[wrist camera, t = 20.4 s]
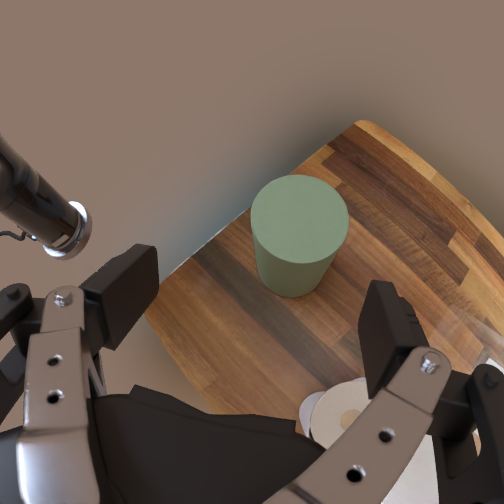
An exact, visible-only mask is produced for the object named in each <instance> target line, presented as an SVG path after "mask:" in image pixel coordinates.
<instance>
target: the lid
mask: <svg viewBox="0 0 504 504" xmlns="http://www.w3.org/2000/svg"><path fill="white" fill-rule="evenodd" d="M371 401H372V400H368V392H367V384H366V383H365V382H361V381H347V382H343V383H340V384H337V385H335V386H333V387H331V388H330V389H328V390H327V391H326V392H325V393H324V394H323V395H322V396H321V397H320V398H319V399H318V401H317V402H316V404H315V405H314V407H313V410H312V413H311V416H310V430H311V434H312V437H313V439H314V441H316V442H317V443H319V444H320V445H322V446H323V447H324V448H326V449H328V448H329V447H330V446H331V445H332V444H333V443H334V442H335V441H336V440H337V439H338V438H339V437H340V436H341V435H342V434H343V433H344V432H345V430H346V429H347V428H348V427H349V426H350V425H351V424H352V423H353V422H354V421H355V419H356V418H357V417H358V416H359V415H360V414H361V413H362V411H363V410H364V409H365V408H366V407H367V405H368V404H369V403H370V402H371Z"/></svg>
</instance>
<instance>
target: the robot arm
mask: <svg viewBox="0 0 504 504" xmlns="http://www.w3.org/2000/svg"><path fill="white" fill-rule="evenodd" d="M0 213H1V214H2V215H4V216H5V217H7V218H8V219H9V220H11V221H12V222H14V223H15V224H16V225H17V227H19V228H20V229H21V230H23V232H22V235H21V236H18V235H16V234H14V233H12V232H10V231H2V232H0V236H2V235H9V236H11V237H13V238H15V239H17V240H19V241H22V240H24V239H25V235H26V236H27V237H29V238H30V239H32V240H34V241H37V240H38V241H40V242H41V243H43V244H44V245H47V246H48V247H50V248H51V249H53V250H57V251H59V250H63V249H65V248H67V247H68V246H70V245H71V244H72V243H73V241H74V240H75V239H76V237H77V235H78V233H79V231H80V228H81V215H80V212H79V211H78V210H77V209H76V208H75V207H74V206H72V205H71V204H70V203H69V202H68V201H67V200H66V199H65V198H64V197H62V196H61V195H60V194H59V193H58V192H57V191H56V190H55V189H54V188H53V187H52V186H51V185H50V184H49V183H48V182H47V181H46V180H45V179H44V178H43V177H42V176H41V175H40V174H39V173H38V172H37V171H35V170H34V169H33V167H32V166H31V165H29V163H28V162H26V160H24V159H23V157H22V156H21V155H20V154H19V153H18V152H17V151H16V150H15V149H14V148H13V147H12V146H11V145H10V144H9V143H8V141H7V140H6V139H5V138H4V137H3V136H2V134H1V133H0ZM157 259H158V258H157V250H156V248H155V247H154V246H149V245H143V244H135V245H134V246H132V247H131V248H130V249H129V250H127V251H126V252H125V253H124V254H121V255H119V256H117V257H114V258H112V259H111V260H110V261H108V262H107V263H106V264H105V265H104V266H102V267H101V268H100V269H99V270H98V272H95V273H94V274H93V275H91V276H90V277H89V278H88V279H87V280H86V281H84V283H82V284H81V285H80V286H79V287H76V286H63V287H59V288H57V289H54V290H53V291H51V292H50V293H49V294H48V295H47V296H46V298H45V299H44V298H32V295H31V292H30V288H29V286H28V285H26V284H22V283H17V284H13V285H10V286H7V287H6V288H4V289H3V290H1V291H0V340H1V339H2V338H3V337H4V336H5V335H6V334H7V333H8V332H9V331H10V333H11V335H12V338H13V340H14V342H15V344H16V345H15V346H14V347H13V348H12V349H11V351H10V352H9V353H8V354H7V355H6V356H5V357H4V359H3V360H2V361H1V362H0V425H1V423H2V422H3V420H4V419H5V417H6V416H7V414H8V413H9V412H10V410H11V409H12V407H13V406H14V404H15V403H16V402H17V400H18V399H19V397H20V396H21V395H22V393H23V392H24V401H23V425H22V426H19V427H16V428H13V429H10V430H7V431H4V432H1V433H0V504H380V503H381V502H382V501H383V499H384V498H385V497H386V495H387V494H388V493H389V491H390V490H391V489H392V487H393V486H394V484H395V483H396V481H397V480H398V478H399V477H400V475H401V474H402V472H403V471H404V469H405V468H406V466H407V465H408V463H409V461H410V460H411V458H412V457H413V455H414V453H415V452H416V450H417V448H418V446H419V445H420V443H421V441H422V439H423V438H424V436H425V434H428V435H432V441H433V448H434V455H435V463H436V472H437V481H438V493H439V504H504V374H503V373H502V372H501V371H500V370H499V369H497V368H496V367H494V366H492V365H489V364H480V365H478V366H477V367H476V368H475V370H474V371H473V373H472V374H471V375H468V374H464V373H461V372H457V371H454V370H451V369H452V367H451V363H450V361H449V360H448V358H447V357H446V356H445V355H444V354H443V353H442V352H440V351H439V350H437V349H435V348H432V347H430V346H429V343H428V341H427V339H426V336H425V334H424V332H423V329H422V327H421V325H420V324H419V320H418V318H417V317H416V314H415V311H414V309H413V307H412V305H411V304H410V303H409V302H408V301H407V300H405V299H404V298H403V297H399V296H398V294H397V291H396V289H395V287H394V285H393V283H392V282H386V281H379V280H372V281H371V283H370V285H369V288H368V291H367V295H366V298H365V301H364V304H363V307H362V310H361V313H360V317H359V322H358V334H359V340H360V346H361V351H362V358H363V364H364V371H365V377H366V384H367V392H368V400H372V401H371V402H370V403H369V404H368V405H367V407H366V408H365V409H364V410H363V411H362V413H361V414H360V415H359V416H358V417H357V418H356V419H355V421H354V422H353V423H352V424H351V425H350V426H349V427H348V428H347V429H346V430H345V432H344V433H343V434H342V435H341V436H340V437H339V438H338V439H337V440H336V441H335V442H334V443H333V444H332V445H331V446H330V447H329V448H328V449H326V448H324V447H323V446H322V445H320V444H319V443H317V442H316V441H314V440H312V439H311V438H309V437H306V436H304V435H302V434H299V433H296V432H295V427H296V420H289V419H282V418H274V417H268V416H261V415H255V414H246V415H213V414H206V413H204V412H202V411H200V410H198V409H196V408H194V407H192V406H190V405H188V404H186V403H184V402H182V401H180V400H178V399H177V398H175V397H173V396H171V395H168V394H164V393H161V392H157V391H154V390H151V389H148V388H145V387H142V386H139V385H134V387H133V388H132V390H131V392H130V393H129V394H111V395H107V391H106V386H105V380H104V374H103V368H102V361H101V355H100V352H99V350H100V349H101V348H102V347H105V348H108V349H111V350H114V351H115V350H116V348H117V347H118V346H119V344H120V343H121V342H122V340H123V339H124V338H125V336H126V335H127V334H128V332H129V331H130V330H131V328H132V327H133V326H134V325H135V323H136V322H137V321H138V319H139V318H140V317H141V316H142V314H143V313H144V312H145V310H146V309H147V308H148V307H149V305H150V304H151V303H152V301H153V300H154V299H155V298H156V296H157V293H158V290H159V273H158V260H157ZM476 428H477V429H478V433H479V437H480V441H481V451H480V454H479V456H477V451H476V447H475V442H474V438H473V434H472V433H473V432H474V430H475V429H476Z"/></svg>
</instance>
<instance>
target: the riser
mask: <svg viewBox="0 0 504 504" xmlns="http://www.w3.org/2000/svg"><path fill="white" fill-rule="evenodd" d="M251 226H252V233H253V240H254V247H255V254H256V262H257V269H258V274H259V277H260V279H261V281H262V282H263V284H264V285H265V286H266V287H267V288H268V289H269V290H270V291H271V292H273V293H275V294H277V295H279V296H282V297H288V298H295V297H300V296H303V295H306V294H308V293H309V292H311V291H312V290H313V289H314V288H315V287H316V286H317V285H318V284H319V282H320V281H321V279H322V277H323V276H324V274H325V272H326V271H327V269H328V267H329V266H330V264H331V262H332V261H333V259H334V257H335V256H336V254H337V252H338V251H339V249H340V247H341V245H342V244H343V242H344V240H345V238H346V236H347V232H348V228H349V215H348V211H347V207H346V205H345V203H344V201H343V199H342V198H341V196H340V195H339V194H338V192H337V191H336V190H335V189H334V188H332V187H331V186H330V185H329V184H327V183H325V182H324V181H322V180H320V179H317V178H314V177H311V176H306V175H289V176H284V177H281V178H278V179H276V180H274V181H272V182H270V183H269V184H267V185H266V186H265V187H264V188H263V189H262V190H261V191H260V192H259V193H258V195H257V196H256V198H255V200H254V202H253V205H252V209H251Z"/></svg>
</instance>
